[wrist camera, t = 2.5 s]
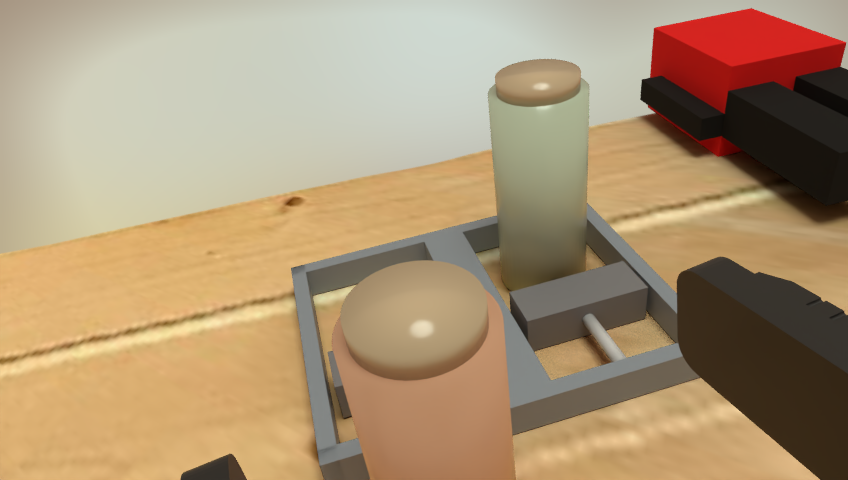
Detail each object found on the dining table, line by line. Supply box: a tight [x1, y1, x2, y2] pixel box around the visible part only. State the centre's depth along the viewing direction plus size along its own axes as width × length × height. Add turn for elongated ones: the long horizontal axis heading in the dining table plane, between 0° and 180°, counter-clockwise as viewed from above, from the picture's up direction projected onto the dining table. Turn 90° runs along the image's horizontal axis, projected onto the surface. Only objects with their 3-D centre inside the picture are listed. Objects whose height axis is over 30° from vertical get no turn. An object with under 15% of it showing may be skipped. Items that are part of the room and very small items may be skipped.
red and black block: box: [641, 8, 848, 206], centre depth 54 cm, size 15×8×25 cm
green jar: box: [488, 59, 589, 292], centre depth 42 cm, size 6×6×15 cm
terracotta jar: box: [332, 260, 516, 480], centre depth 26 cm, size 6×6×15 cm
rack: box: [291, 203, 700, 480], centre depth 41 cm, size 23×18×3 cm
